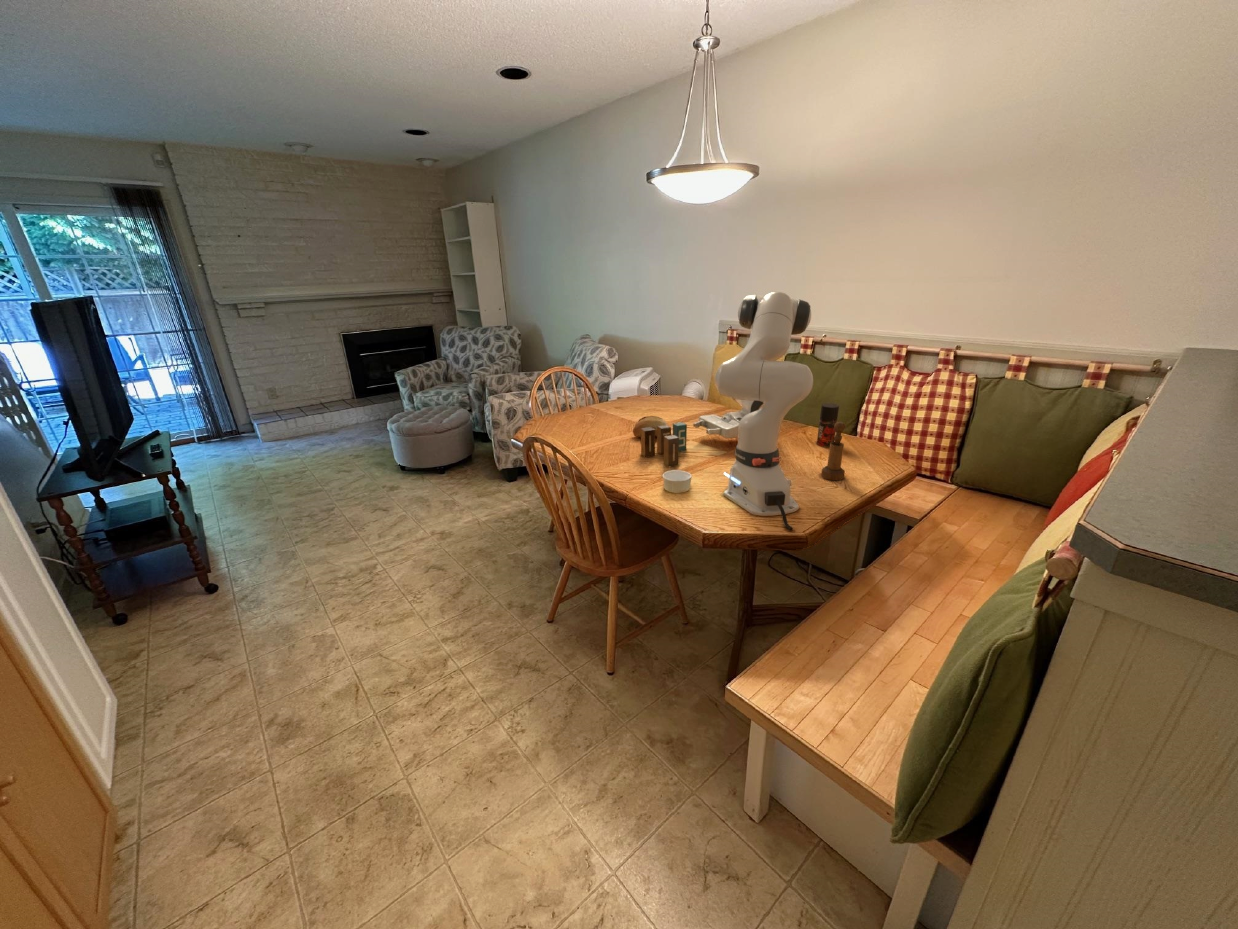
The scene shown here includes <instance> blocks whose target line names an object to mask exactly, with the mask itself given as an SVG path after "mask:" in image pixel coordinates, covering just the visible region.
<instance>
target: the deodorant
mask: <svg viewBox="0 0 1238 929" xmlns="http://www.w3.org/2000/svg"><path fill="white" fill-rule="evenodd" d="M839 411H840V405H839V404H837V403H829V402H828V403H822V404H821V407H820V414H819V415H820V416H819V422H818V430H817V436H816V437H817V438H816V445H817V446H819V447H823V448H830V443H831V442H835V441H834V436H835V435H836V431H835V429H834V425H835V423H837V422H838V418H839Z"/></svg>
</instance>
